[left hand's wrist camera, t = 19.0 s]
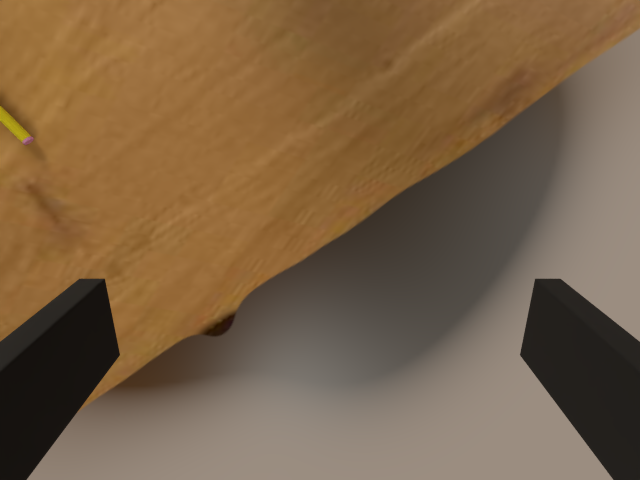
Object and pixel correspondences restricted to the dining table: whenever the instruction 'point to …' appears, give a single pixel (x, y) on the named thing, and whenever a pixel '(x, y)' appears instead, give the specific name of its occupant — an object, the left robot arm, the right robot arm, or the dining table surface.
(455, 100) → the dining table surface
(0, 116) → the pencil
